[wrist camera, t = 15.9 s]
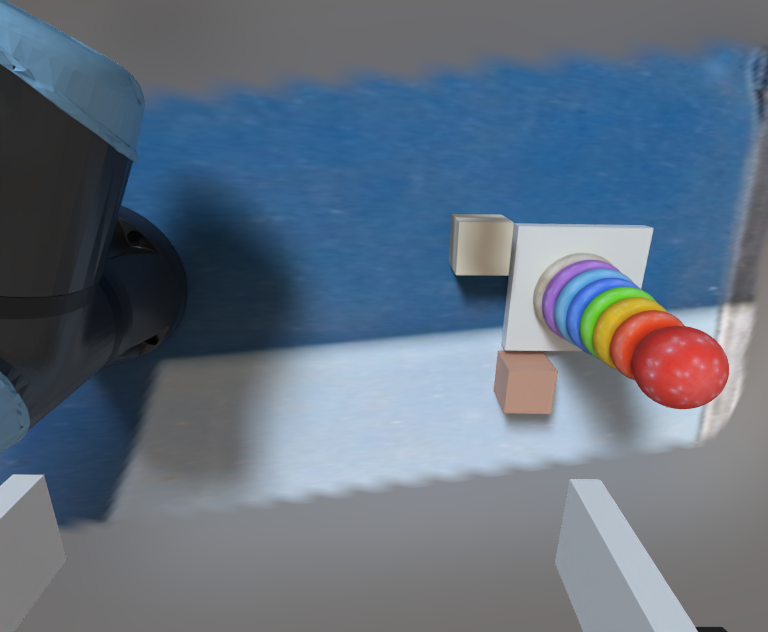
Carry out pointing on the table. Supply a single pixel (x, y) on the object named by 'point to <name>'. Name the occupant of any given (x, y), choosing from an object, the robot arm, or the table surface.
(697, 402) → the stacking toy
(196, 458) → the table surface
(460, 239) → the birch block
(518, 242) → the white square slab
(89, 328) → the robot arm
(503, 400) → the terracotta block
